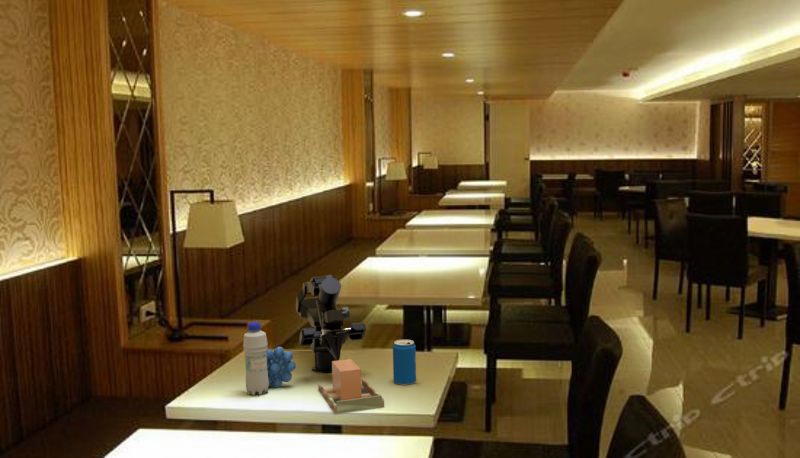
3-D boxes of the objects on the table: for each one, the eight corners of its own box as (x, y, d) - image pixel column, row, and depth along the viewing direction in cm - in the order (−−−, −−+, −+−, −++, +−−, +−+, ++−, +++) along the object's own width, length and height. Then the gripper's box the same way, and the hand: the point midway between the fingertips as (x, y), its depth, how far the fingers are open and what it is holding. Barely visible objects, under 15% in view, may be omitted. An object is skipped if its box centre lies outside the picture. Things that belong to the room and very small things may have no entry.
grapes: (299, 383, 217) (298, 342, 216) (295, 390, 211) (293, 348, 209) (259, 383, 218) (257, 342, 216) (254, 391, 211) (252, 349, 210)
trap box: (318, 391, 210) (318, 378, 210) (363, 385, 214) (363, 373, 214) (335, 415, 191) (334, 402, 191) (384, 408, 195) (384, 395, 195)
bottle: (249, 398, 206) (246, 326, 203) (242, 391, 211) (238, 321, 209) (273, 393, 209) (270, 322, 206) (265, 387, 215) (262, 318, 212)
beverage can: (414, 387, 211) (413, 345, 210) (391, 386, 213) (390, 344, 211) (418, 380, 218) (417, 339, 216) (396, 379, 219) (395, 338, 218)
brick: (332, 389, 210) (331, 361, 209) (352, 386, 211) (351, 359, 210) (341, 400, 200) (340, 371, 199) (361, 398, 202) (360, 369, 201)
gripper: (299, 300, 214) (308, 349, 205) (363, 295, 219) (375, 341, 210) (295, 321, 222) (304, 368, 213) (357, 315, 228) (368, 361, 219)
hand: (338, 359), depth 214 cm, fingers closed
